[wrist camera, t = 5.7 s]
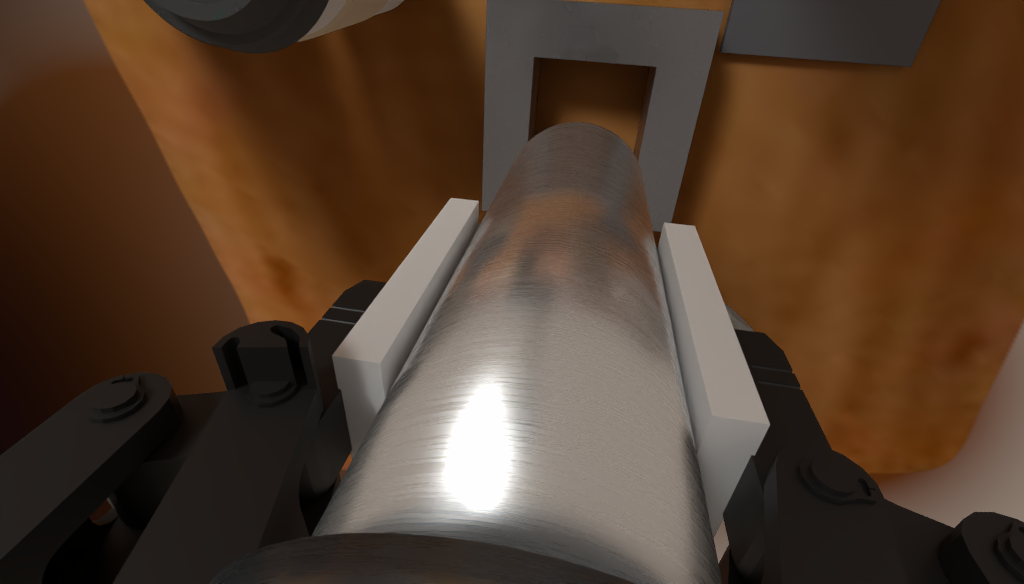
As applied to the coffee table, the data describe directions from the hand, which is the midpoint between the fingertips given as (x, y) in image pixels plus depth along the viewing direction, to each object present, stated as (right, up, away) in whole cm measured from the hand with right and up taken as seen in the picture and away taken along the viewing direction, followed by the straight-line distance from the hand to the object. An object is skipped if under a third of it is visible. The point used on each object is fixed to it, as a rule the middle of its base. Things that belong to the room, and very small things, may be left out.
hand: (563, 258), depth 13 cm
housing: (+3, +11, +18) cm, 21 cm away
